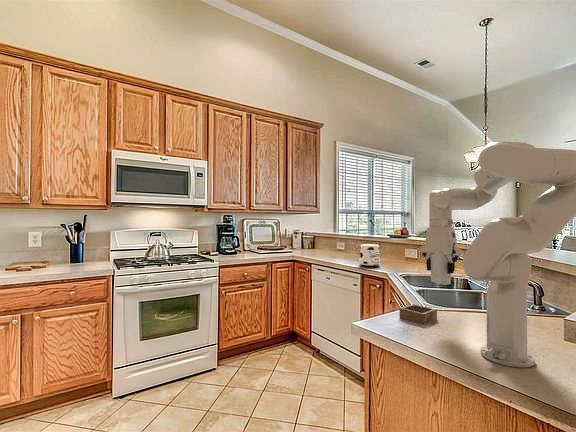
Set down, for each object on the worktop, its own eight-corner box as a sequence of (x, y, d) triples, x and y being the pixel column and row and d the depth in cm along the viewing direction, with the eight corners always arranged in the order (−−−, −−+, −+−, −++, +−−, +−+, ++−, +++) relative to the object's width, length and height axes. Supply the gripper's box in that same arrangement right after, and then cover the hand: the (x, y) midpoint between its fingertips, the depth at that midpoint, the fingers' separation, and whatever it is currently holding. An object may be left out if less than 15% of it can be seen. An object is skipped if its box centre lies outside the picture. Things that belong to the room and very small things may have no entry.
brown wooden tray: (423, 325, 117) (423, 314, 117) (399, 318, 125) (399, 308, 125) (436, 319, 123) (436, 309, 123) (413, 313, 131) (413, 304, 131)
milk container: (378, 268, 253) (378, 246, 253) (357, 267, 260) (357, 245, 260) (381, 265, 269) (381, 244, 269) (361, 264, 276) (361, 243, 276)
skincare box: (451, 284, 114) (451, 251, 114) (440, 285, 113) (440, 251, 113) (440, 281, 120) (440, 249, 120) (429, 281, 119) (429, 249, 119)
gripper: (469, 224, 112) (469, 274, 112) (423, 223, 126) (423, 267, 126) (460, 224, 107) (459, 276, 107) (413, 223, 121) (412, 269, 121)
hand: (440, 271), depth 117 cm, fingers closed on skincare box, 7 cm apart
